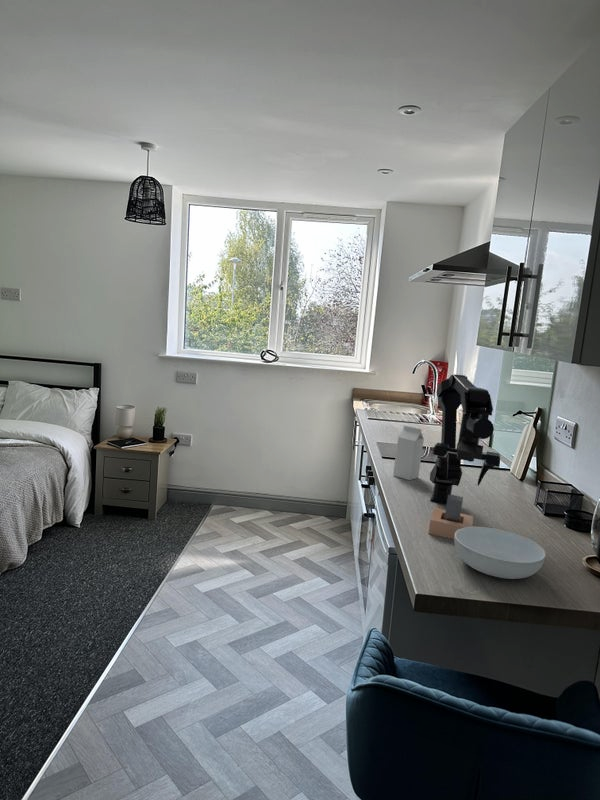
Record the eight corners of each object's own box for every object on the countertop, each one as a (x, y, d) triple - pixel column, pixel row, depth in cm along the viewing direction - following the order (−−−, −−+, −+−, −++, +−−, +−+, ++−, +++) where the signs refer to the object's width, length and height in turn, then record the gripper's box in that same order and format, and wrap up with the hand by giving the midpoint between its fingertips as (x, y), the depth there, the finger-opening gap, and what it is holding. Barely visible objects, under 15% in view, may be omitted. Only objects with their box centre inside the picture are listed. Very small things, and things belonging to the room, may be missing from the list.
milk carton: (410, 480, 201) (417, 430, 198) (392, 475, 205) (399, 426, 202) (418, 477, 207) (425, 428, 204) (401, 472, 211) (408, 424, 208)
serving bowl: (521, 555, 143) (526, 530, 142) (555, 595, 123) (561, 567, 122) (442, 546, 144) (446, 521, 143) (462, 585, 123) (467, 556, 122)
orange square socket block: (432, 520, 162) (434, 508, 161) (471, 529, 158) (473, 516, 158) (428, 533, 151) (430, 519, 151) (469, 542, 148) (471, 528, 147)
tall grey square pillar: (443, 527, 157) (448, 494, 156) (457, 530, 156) (463, 497, 155) (442, 532, 154) (447, 498, 152) (457, 535, 152) (462, 501, 151)
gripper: (434, 430, 156) (427, 482, 158) (504, 441, 150) (494, 496, 152) (438, 424, 166) (431, 473, 169) (503, 434, 160) (495, 485, 163)
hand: (462, 482), depth 163 cm, fingers open, 9 cm apart
